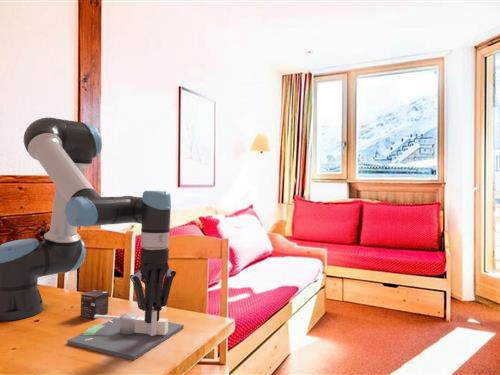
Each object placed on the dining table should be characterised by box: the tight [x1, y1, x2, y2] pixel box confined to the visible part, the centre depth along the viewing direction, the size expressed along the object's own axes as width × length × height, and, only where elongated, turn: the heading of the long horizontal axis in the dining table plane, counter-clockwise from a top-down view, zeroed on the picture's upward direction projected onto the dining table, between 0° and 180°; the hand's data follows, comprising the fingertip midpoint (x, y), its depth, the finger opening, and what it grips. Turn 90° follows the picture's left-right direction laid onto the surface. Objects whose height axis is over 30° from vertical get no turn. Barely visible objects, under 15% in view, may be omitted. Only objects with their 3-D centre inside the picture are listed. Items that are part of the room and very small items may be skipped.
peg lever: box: [94, 313, 169, 335], centre depth 102 cm, size 21×5×4 cm, turn 82°
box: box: [80, 289, 109, 320], centre depth 118 cm, size 6×6×7 cm
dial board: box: [67, 313, 185, 361], centre depth 103 cm, size 23×22×1 cm
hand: (151, 333), depth 99 cm, fingers closed
